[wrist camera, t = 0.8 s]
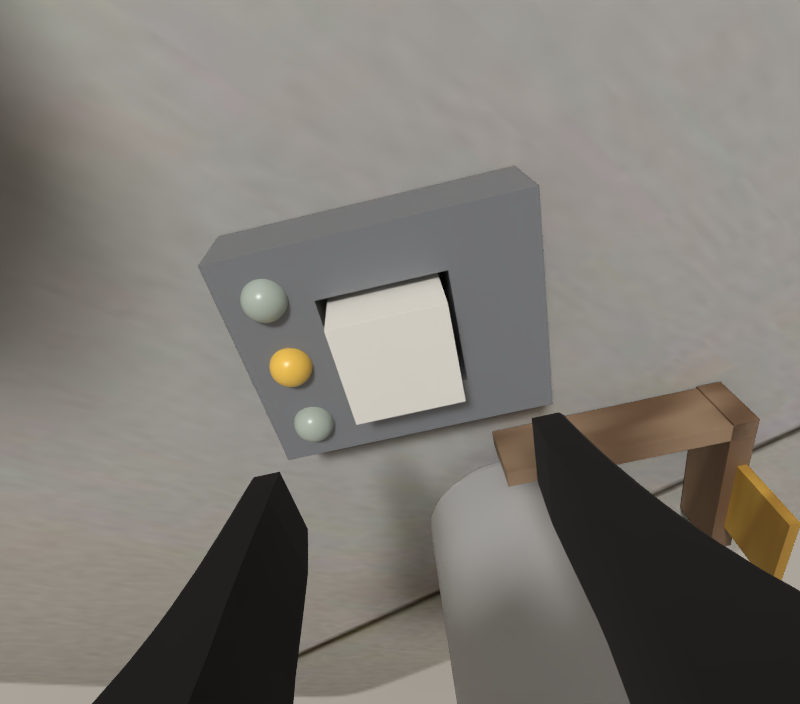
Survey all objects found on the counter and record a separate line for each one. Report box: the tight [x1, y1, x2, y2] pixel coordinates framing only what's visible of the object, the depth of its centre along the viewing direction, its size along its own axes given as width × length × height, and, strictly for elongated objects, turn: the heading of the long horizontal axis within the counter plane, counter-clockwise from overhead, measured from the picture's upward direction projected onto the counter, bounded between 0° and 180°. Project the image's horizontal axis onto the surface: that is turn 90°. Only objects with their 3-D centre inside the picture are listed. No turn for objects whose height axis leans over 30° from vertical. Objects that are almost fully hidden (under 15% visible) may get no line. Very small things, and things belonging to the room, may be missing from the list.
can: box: [431, 462, 630, 704], centre depth 20 cm, size 8×8×12 cm
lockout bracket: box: [493, 382, 800, 581], centre depth 22 cm, size 10×8×6 cm
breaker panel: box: [198, 166, 553, 460], centre depth 17 cm, size 10×8×3 cm
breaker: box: [324, 273, 466, 425], centre depth 16 cm, size 4×4×2 cm
